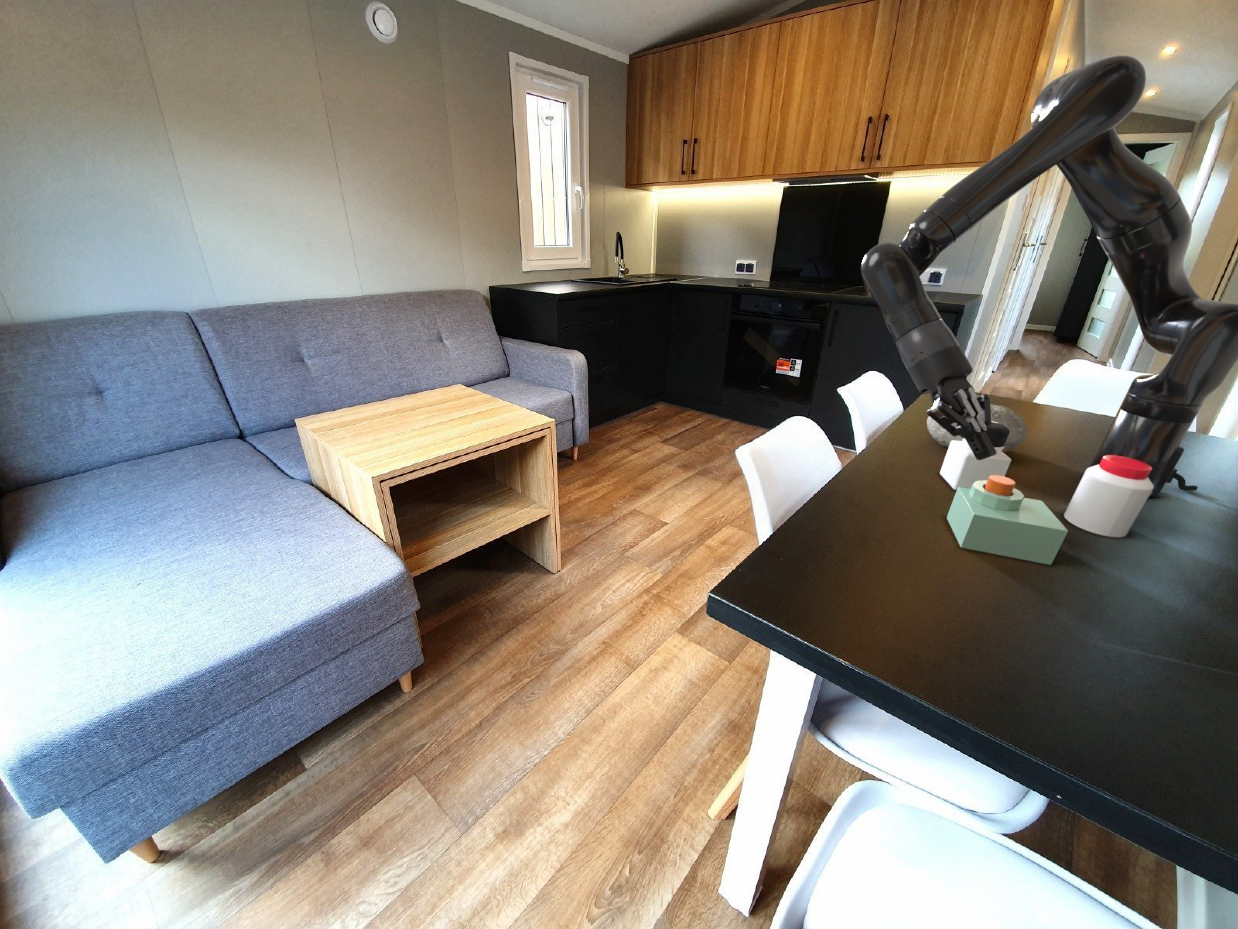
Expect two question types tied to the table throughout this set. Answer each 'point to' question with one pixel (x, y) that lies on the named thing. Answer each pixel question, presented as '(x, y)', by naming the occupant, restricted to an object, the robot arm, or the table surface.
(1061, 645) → the table surface
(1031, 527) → the button base
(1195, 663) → the table surface
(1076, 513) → the pill bottle
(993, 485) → the orange push button
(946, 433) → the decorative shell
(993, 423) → the medicine bottle
